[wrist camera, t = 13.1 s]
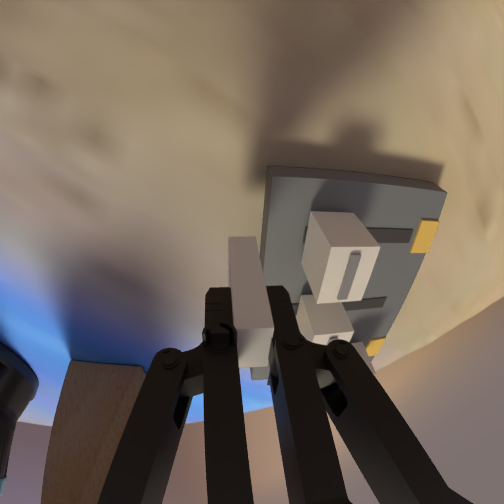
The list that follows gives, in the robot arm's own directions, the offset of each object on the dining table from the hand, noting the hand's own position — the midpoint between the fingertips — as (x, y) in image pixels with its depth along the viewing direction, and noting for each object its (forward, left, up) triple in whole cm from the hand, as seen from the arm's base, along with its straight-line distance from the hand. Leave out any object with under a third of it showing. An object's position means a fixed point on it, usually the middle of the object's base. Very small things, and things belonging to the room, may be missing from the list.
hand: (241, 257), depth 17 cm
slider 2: (+6, -7, -2) cm, 10 cm away
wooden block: (-15, -23, -5) cm, 28 cm away
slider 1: (+6, 0, -2) cm, 6 cm away
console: (+9, -7, -5) cm, 12 cm away
